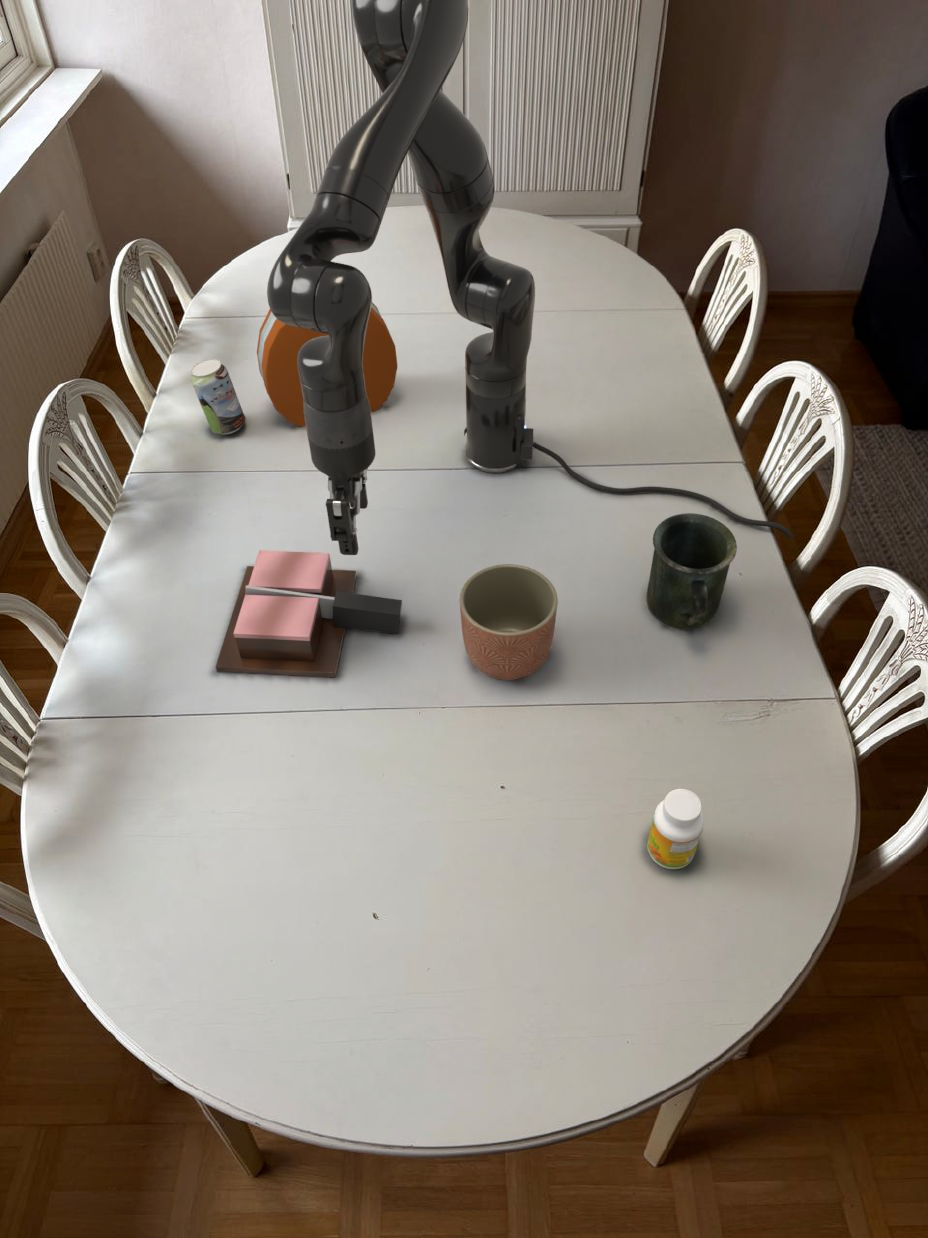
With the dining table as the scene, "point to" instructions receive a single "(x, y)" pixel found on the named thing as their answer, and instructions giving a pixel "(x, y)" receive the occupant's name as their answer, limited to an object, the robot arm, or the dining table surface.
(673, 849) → the supplement bottle
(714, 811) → the dining table surface
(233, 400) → the beverage can
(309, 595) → the knife
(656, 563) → the mug
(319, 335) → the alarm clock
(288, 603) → the cake
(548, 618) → the planter
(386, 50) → the robot arm
